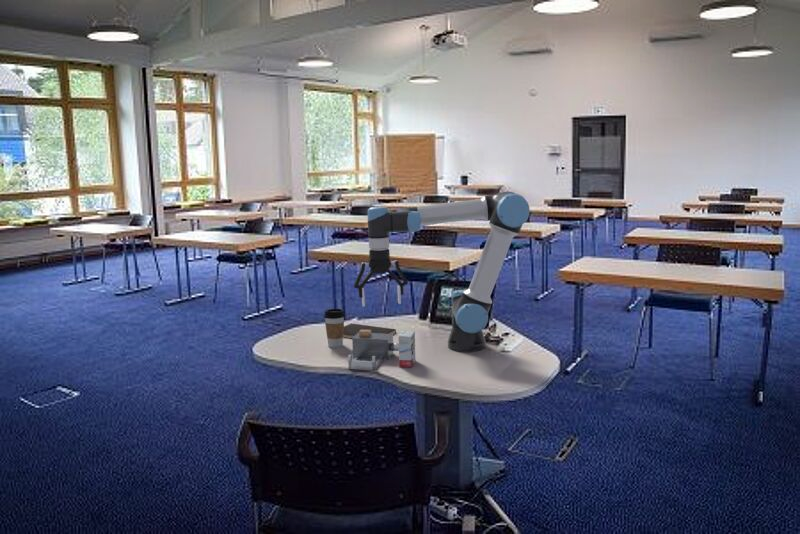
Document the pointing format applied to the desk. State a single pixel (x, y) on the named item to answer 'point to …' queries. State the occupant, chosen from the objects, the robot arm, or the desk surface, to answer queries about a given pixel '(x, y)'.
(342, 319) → the coffee cup
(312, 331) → the desk surface
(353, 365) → the clip bracket
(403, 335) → the ink box
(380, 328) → the hardcover book
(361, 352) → the motor block
